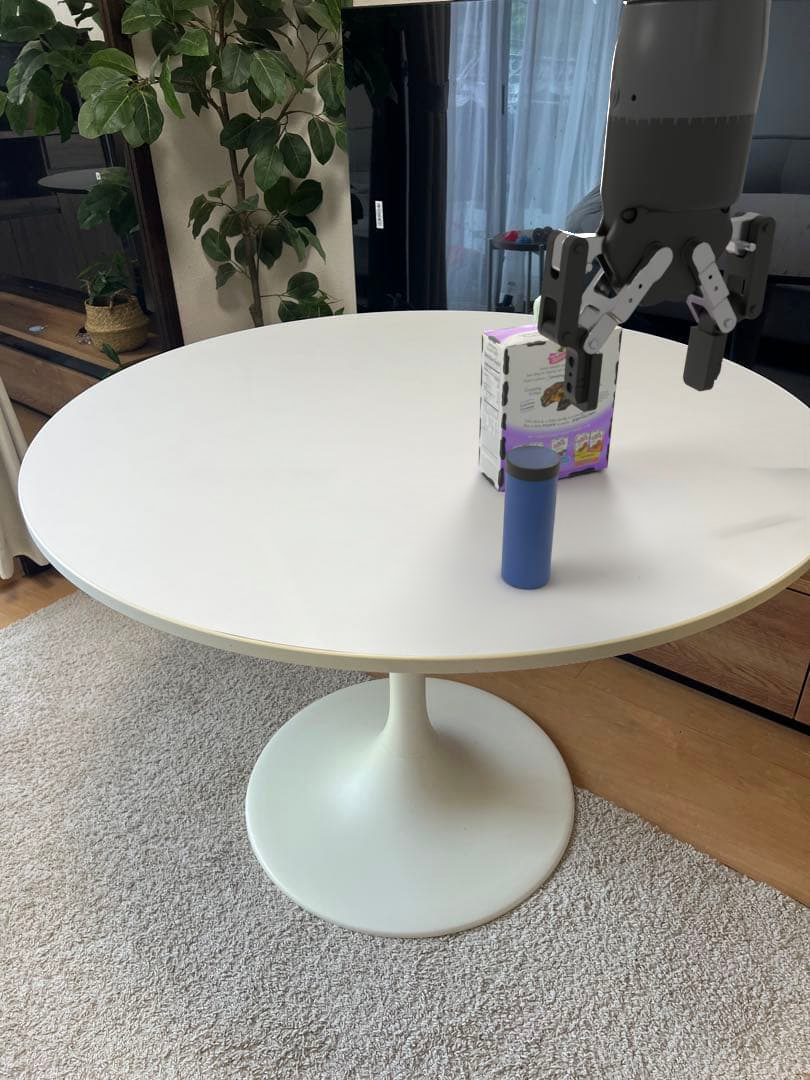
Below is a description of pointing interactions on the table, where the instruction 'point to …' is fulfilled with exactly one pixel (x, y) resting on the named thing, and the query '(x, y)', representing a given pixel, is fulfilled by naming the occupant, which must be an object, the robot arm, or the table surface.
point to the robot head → (536, 309)
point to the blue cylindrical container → (529, 515)
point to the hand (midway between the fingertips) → (641, 396)
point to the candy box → (540, 403)
